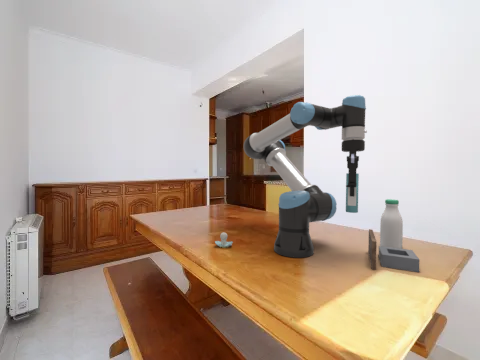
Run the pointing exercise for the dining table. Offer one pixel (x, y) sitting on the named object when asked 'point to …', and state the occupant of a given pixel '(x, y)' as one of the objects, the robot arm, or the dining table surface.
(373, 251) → the wooden cutting board
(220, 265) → the dining table surface
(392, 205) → the milk bottle
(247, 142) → the robot arm
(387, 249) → the socket block
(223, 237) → the pacifier
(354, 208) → the peg
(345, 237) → the dining table surface
